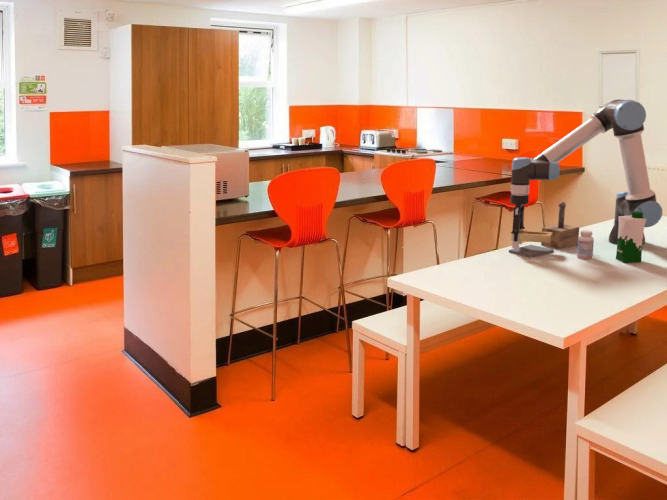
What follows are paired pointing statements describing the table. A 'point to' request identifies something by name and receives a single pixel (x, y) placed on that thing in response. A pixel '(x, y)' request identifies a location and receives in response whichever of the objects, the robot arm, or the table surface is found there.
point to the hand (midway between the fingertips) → (517, 245)
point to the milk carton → (630, 238)
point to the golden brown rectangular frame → (535, 236)
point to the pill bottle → (585, 245)
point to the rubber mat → (531, 251)
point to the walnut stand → (562, 232)
